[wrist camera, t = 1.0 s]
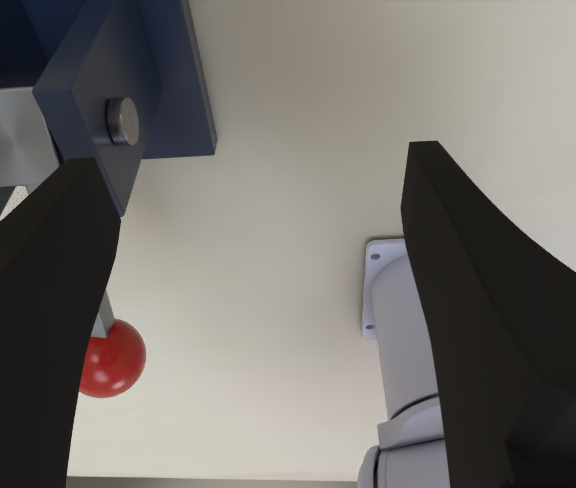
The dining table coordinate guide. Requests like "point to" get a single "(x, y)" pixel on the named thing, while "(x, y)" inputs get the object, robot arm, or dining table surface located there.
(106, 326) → the lever
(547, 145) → the dining table surface
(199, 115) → the bracket
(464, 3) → the dining table surface
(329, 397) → the dining table surface
